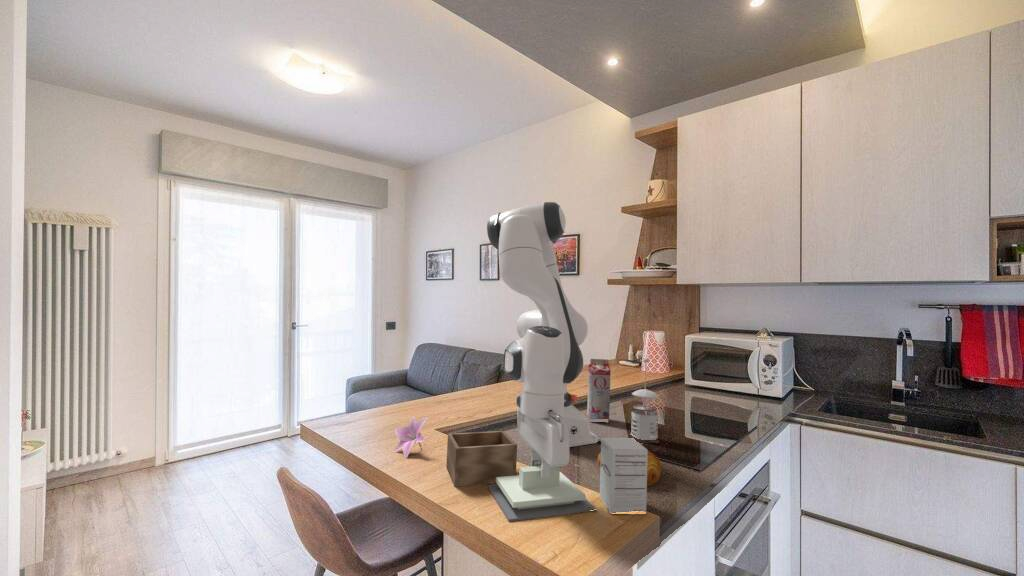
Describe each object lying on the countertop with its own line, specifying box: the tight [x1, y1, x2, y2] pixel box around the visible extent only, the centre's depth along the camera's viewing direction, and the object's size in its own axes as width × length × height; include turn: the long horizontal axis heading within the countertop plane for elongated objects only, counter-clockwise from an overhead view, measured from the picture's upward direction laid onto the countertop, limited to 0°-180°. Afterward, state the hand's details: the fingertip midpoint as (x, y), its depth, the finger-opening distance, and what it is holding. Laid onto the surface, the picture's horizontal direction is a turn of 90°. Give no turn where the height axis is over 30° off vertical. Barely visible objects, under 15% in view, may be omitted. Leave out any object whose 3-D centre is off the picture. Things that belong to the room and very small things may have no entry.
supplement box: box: [599, 437, 649, 513], centre depth 84 cm, size 7×7×13 cm
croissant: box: [596, 450, 663, 487], centre depth 101 cm, size 14×16×8 cm
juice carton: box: [586, 358, 611, 420], centre depth 151 cm, size 7×7×22 cm
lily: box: [394, 415, 428, 459], centre depth 111 cm, size 11×11×9 cm
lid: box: [496, 466, 586, 510], centre depth 86 cm, size 15×12×6 cm
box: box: [445, 430, 518, 487], centre depth 97 cm, size 14×11×8 cm
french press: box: [630, 358, 660, 440], centre depth 131 cm, size 10×12×25 cm
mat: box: [487, 484, 598, 522], centre depth 86 cm, size 18×15×1 cm
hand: (540, 473), depth 86 cm, fingers open, 3 cm apart
